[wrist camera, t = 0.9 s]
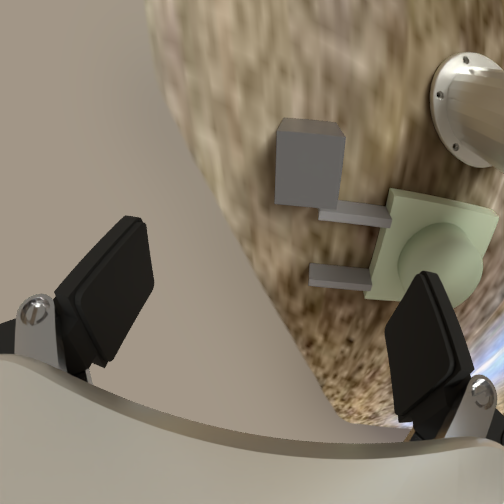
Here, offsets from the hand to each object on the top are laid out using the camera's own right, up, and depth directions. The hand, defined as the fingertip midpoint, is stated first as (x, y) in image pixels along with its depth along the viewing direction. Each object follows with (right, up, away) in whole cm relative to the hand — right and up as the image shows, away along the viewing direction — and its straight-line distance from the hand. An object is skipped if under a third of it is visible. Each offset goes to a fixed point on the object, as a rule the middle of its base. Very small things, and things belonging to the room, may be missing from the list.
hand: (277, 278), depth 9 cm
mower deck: (+17, +2, +21) cm, 27 cm away
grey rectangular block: (+5, +11, +17) cm, 21 cm away
